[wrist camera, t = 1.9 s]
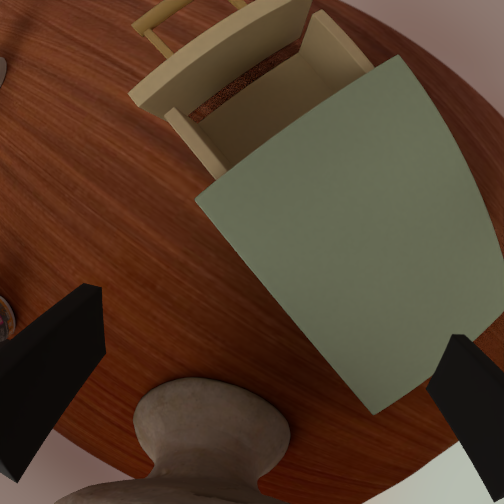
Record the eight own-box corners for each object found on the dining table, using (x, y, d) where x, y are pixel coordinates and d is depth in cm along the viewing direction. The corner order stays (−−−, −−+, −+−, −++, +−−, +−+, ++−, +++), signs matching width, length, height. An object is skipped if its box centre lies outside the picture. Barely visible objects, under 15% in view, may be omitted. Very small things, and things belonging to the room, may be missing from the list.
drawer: (126, 67, 20) (80, 35, 13) (243, -15, 18) (238, -70, 11) (302, 285, 25) (320, 332, 17) (417, 197, 23) (472, 210, 15)
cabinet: (218, 188, 24) (193, 199, 15) (350, 91, 21) (398, 53, 12) (344, 347, 27) (373, 415, 18) (452, 263, 25) (513, 300, 16)
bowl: (293, 489, 34) (301, 600, 15) (126, 465, 34) (88, 568, 15) (348, 360, 28) (417, 539, 8) (98, 325, 27) (-19, 466, 8)
